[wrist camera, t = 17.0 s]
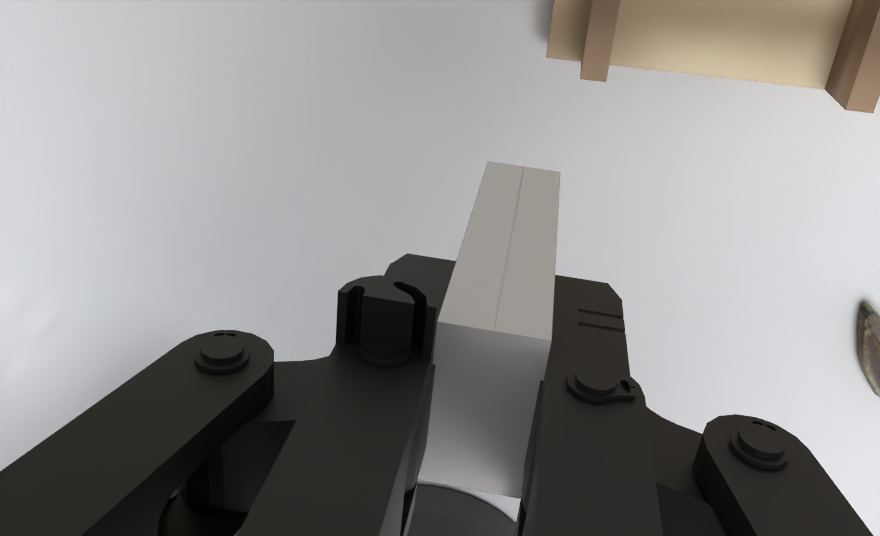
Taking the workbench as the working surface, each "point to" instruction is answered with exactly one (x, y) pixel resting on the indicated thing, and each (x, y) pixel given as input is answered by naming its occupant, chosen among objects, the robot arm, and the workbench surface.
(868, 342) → the wrench
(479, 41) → the workbench surface
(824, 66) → the tan flat ridged piece
